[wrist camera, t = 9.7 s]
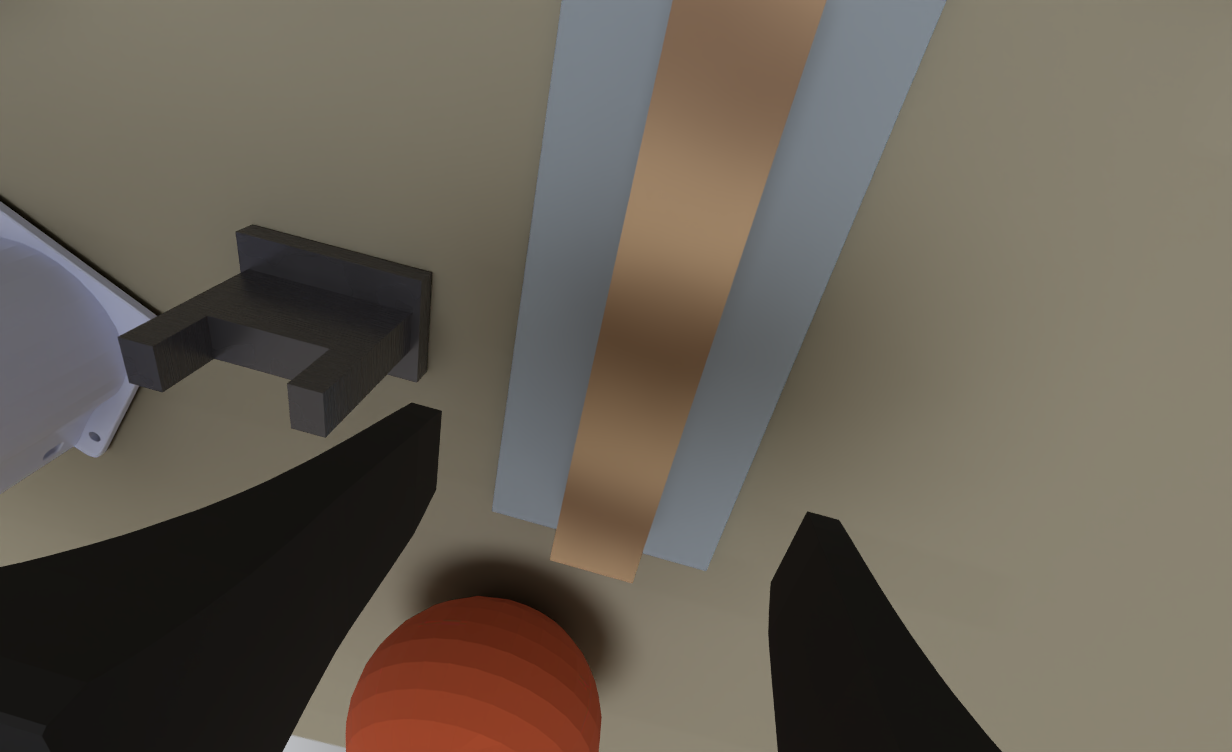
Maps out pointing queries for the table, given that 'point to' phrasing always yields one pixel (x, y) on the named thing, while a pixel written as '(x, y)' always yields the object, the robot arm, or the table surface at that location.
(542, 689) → the tomato
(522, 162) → the table surface
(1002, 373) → the table surface
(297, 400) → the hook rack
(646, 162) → the wavy strip
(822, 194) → the mat
